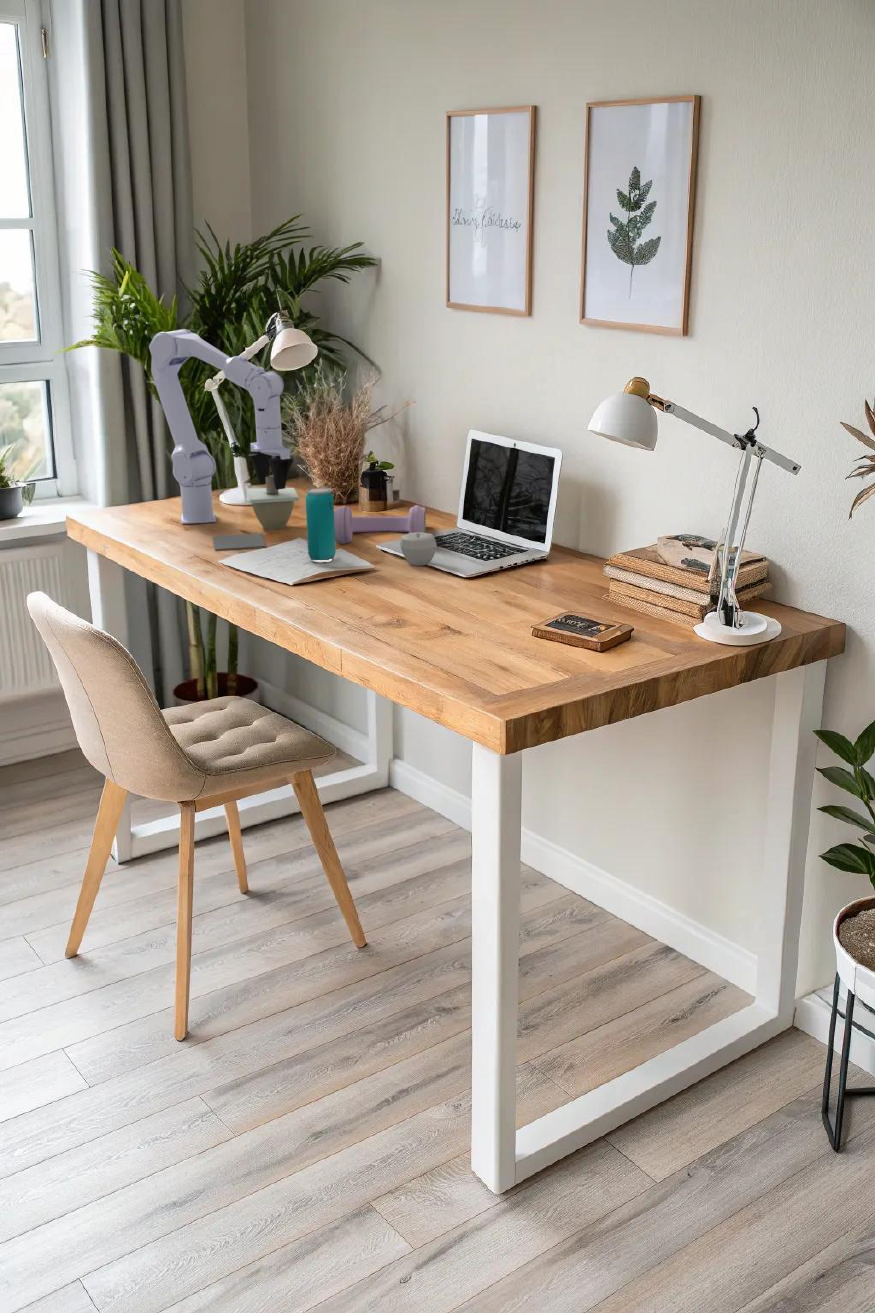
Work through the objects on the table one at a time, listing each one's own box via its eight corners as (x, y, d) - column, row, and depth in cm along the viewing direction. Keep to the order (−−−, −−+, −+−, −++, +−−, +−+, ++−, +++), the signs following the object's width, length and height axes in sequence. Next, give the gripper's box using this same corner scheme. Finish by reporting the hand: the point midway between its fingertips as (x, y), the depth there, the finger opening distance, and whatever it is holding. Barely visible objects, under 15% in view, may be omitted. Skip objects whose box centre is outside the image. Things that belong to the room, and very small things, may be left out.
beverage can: (338, 557, 264) (335, 487, 259) (333, 564, 259) (330, 492, 254) (311, 556, 265) (308, 486, 260) (306, 563, 259) (302, 492, 254)
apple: (444, 565, 257) (444, 534, 255) (411, 571, 253) (410, 539, 251) (425, 557, 263) (424, 526, 261) (392, 562, 259) (391, 531, 257)
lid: (247, 493, 292) (245, 473, 291) (293, 490, 295) (292, 470, 293) (250, 503, 282) (249, 482, 281) (299, 500, 284) (297, 479, 283)
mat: (212, 537, 282) (212, 536, 281) (261, 534, 284) (261, 533, 284) (215, 550, 270) (215, 549, 270) (266, 547, 273) (266, 545, 272)
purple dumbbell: (332, 513, 269) (341, 483, 287) (335, 556, 273) (343, 523, 291) (423, 513, 268) (427, 483, 286) (424, 555, 273) (428, 523, 291)
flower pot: (304, 526, 291) (303, 496, 289) (271, 534, 284) (269, 503, 282) (276, 520, 298) (275, 490, 295) (243, 527, 291) (241, 497, 288)
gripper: (237, 425, 286) (241, 483, 291) (269, 432, 275) (272, 493, 280) (264, 421, 290) (267, 479, 295) (296, 429, 279) (299, 489, 284)
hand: (272, 486), depth 288 cm, fingers open, 7 cm apart
